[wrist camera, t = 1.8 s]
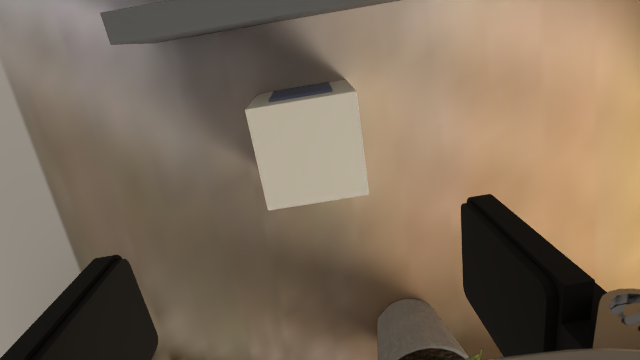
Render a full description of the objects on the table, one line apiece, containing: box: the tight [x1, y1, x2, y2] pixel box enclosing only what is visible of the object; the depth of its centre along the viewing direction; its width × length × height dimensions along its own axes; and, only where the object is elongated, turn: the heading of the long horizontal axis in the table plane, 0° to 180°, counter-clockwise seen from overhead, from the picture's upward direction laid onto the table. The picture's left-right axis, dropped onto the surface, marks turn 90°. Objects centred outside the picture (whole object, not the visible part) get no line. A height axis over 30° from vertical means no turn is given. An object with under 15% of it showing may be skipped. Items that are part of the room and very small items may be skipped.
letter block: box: [245, 79, 369, 211], centre depth 24 cm, size 6×6×6 cm
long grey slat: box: [100, 0, 400, 45], centre depth 21 cm, size 18×2×6 cm, turn 99°
